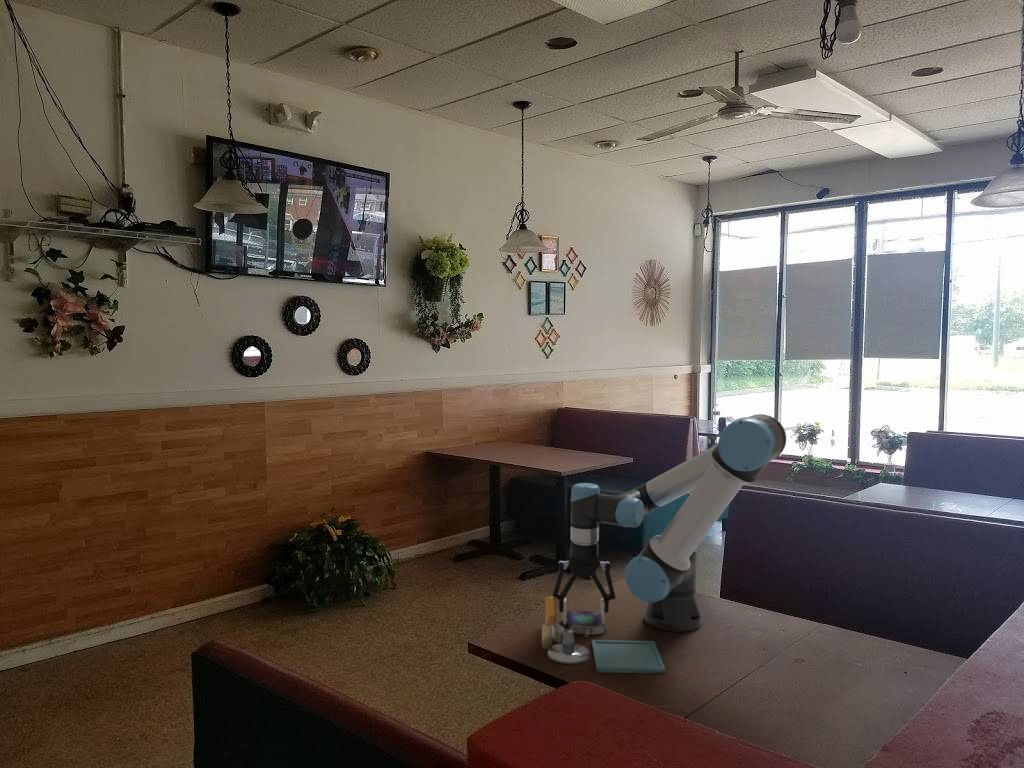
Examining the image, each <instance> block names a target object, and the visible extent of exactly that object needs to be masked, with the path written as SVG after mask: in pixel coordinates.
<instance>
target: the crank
mask: <svg viewBox="0 0 1024 768" xmlns="http://www.w3.org/2000/svg"><path fill="white" fill-rule="evenodd" d="M544 624H551V625H552V636H551V639H554V641H556V642H557V644H560V645H562V644H563V630H565V627H563V626H562V625H561V624H560V623H558V622H557V599H556V597H554V596H553V595H548V596H545V623H544Z"/></svg>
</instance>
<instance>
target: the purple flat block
mask: <svg viewBox="0 0 1024 768" xmlns="http://www.w3.org/2000/svg"><path fill="white" fill-rule="evenodd" d="M566 621H567V625H568V629H572V630H574V634H577V635H578V634H579V635H584V637H585V638H588V637H589V638H590V635H602V634H603V633H604V631H605V627H604V624H603V623H602V619H601V613H599V612H597V611H587V610H585V611H580V610H578V611H576V610H569V611H566Z"/></svg>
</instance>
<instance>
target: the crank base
mask: <svg viewBox="0 0 1024 768" xmlns="http://www.w3.org/2000/svg"><path fill="white" fill-rule="evenodd" d="M564 629H565V628H564ZM551 636H552V625H551V624H545V623H543V624H542V625H541V648H542V649H544V650H547V657H548V659H549V660H551V662H552V661H553V662H555V663H557V664H562V665H579V664H582V663H585V662H587V661H588V660H589V658H590V650H589V649H588V648H587V647H586V646H583V645H581V644H577V643H575V633H574V630H572V629H569V628H566V629H565V630H563V644H562V645H560V644H559V643H556V644H552V637H551Z"/></svg>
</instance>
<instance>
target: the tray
mask: <svg viewBox="0 0 1024 768" xmlns="http://www.w3.org/2000/svg"><path fill="white" fill-rule="evenodd" d="M656 644H657V643H656V642H655V641H654V640H620V639H619V640H617V639H616V640H615V639H613V640H612V639H591V645H592V652H593V658H594V664H595V669H596V673H611V674H612V673H613V674H614V673H615V674H616V673H619V674H621V673H622V674H623V673H624V674H626V673H627V674H629V673H630V674H633V673H634V674H665V673H666V667H665V665H664V663H663V660H662V657H661V655H660V651H659V650H658V647H657V645H656Z"/></svg>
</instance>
